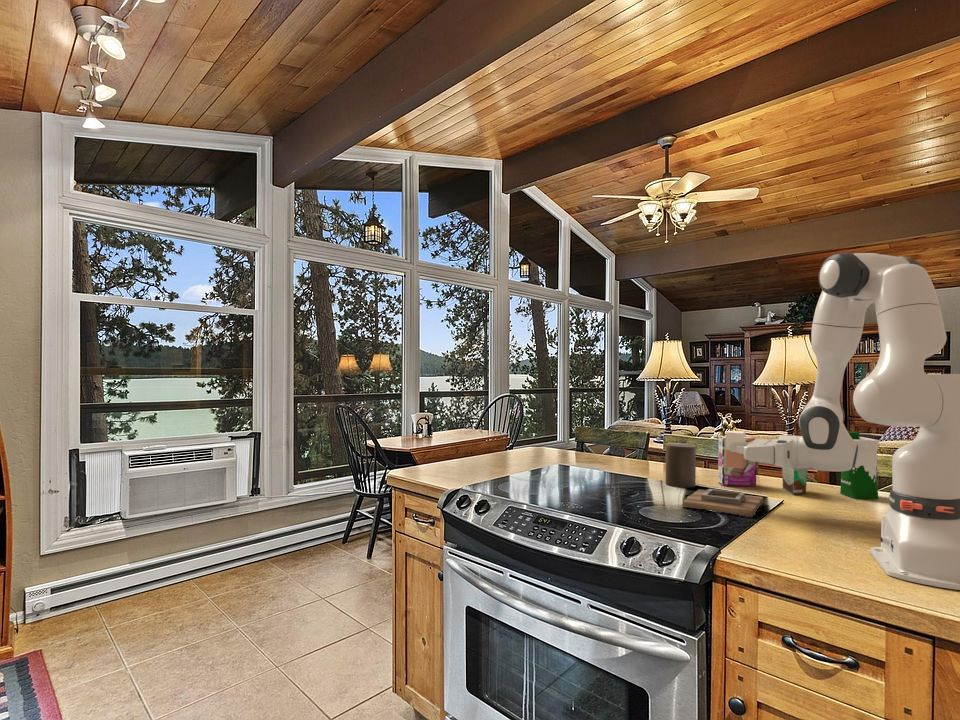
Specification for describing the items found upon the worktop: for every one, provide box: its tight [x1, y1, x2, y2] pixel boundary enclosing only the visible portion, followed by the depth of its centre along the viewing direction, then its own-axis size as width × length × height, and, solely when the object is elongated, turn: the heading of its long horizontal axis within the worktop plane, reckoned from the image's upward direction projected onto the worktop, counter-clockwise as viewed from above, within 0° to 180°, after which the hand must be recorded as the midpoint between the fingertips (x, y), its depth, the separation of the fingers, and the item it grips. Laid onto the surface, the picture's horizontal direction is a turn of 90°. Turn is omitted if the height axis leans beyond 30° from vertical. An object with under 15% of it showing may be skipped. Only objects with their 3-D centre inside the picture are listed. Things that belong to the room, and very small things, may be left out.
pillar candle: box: [665, 441, 697, 488], centre depth 186 cm, size 10×10×15 cm
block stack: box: [725, 430, 747, 468], centre depth 157 cm, size 4×4×10 cm
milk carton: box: [839, 430, 880, 500], centre depth 168 cm, size 9×9×20 cm
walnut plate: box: [682, 488, 764, 516], centre depth 157 cm, size 18×18×4 cm
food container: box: [781, 467, 811, 496], centre depth 174 cm, size 12×6×10 cm, turn 168°
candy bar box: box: [717, 435, 757, 487], centre depth 185 cm, size 11×5×16 cm, turn 84°
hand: (732, 447), depth 158 cm, fingers closed on block stack, 4 cm apart
